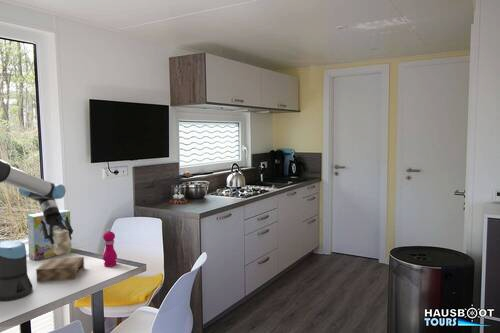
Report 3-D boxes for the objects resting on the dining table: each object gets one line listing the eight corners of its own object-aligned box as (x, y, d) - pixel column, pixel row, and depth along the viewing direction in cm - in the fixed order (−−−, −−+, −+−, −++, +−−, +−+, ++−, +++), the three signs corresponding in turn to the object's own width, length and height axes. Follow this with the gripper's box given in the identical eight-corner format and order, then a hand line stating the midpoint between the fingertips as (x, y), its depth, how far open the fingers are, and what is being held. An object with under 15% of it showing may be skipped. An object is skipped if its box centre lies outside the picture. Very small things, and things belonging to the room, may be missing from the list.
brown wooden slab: (36, 281, 189) (36, 269, 189) (47, 270, 205) (47, 259, 205) (76, 278, 192) (75, 267, 192) (84, 268, 208) (83, 257, 208)
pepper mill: (105, 268, 207) (103, 231, 206) (101, 264, 213) (100, 228, 212) (118, 265, 211) (117, 229, 210) (115, 262, 217) (113, 226, 216)
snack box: (35, 261, 220) (32, 216, 218) (28, 258, 225) (25, 214, 223) (72, 251, 237) (70, 210, 235) (65, 249, 243) (63, 208, 241)
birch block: (57, 255, 194) (56, 233, 193) (53, 252, 199) (51, 231, 198) (69, 252, 199) (68, 231, 198) (65, 249, 203) (64, 229, 202)
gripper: (67, 212, 215) (81, 247, 205) (29, 217, 201) (41, 255, 191) (70, 203, 210) (84, 239, 200) (32, 209, 197) (44, 247, 187)
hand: (63, 247), depth 196 cm, fingers closed on birch block, 6 cm apart
